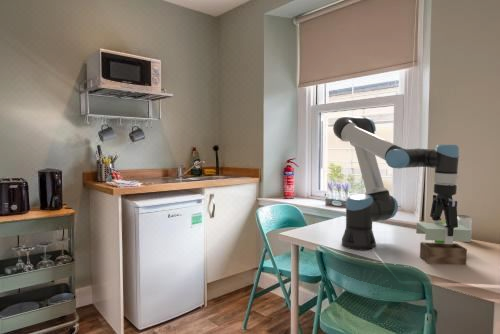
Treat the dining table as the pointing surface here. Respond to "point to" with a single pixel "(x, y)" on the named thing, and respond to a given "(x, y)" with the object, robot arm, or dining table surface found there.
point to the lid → (442, 232)
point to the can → (465, 221)
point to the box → (443, 253)
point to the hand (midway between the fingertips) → (441, 239)
